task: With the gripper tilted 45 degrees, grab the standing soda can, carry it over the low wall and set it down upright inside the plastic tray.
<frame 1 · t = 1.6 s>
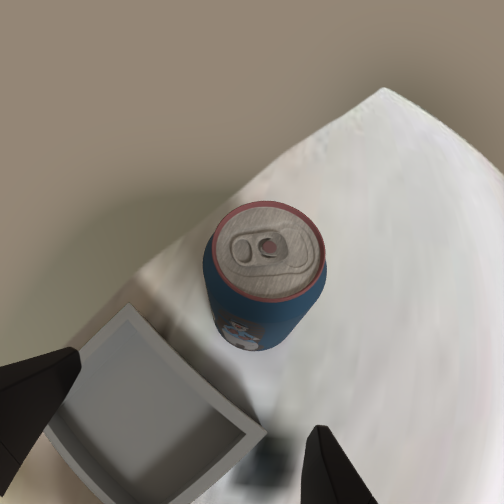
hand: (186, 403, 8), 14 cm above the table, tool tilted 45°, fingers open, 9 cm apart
soda can: (253, 315, 24), on the table
tray: (143, 425, 19), on the table
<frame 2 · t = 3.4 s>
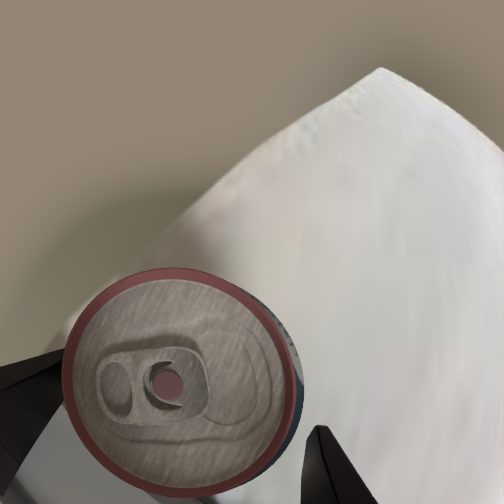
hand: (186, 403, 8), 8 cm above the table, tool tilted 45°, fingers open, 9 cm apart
soda can: (211, 387, 16), on the table
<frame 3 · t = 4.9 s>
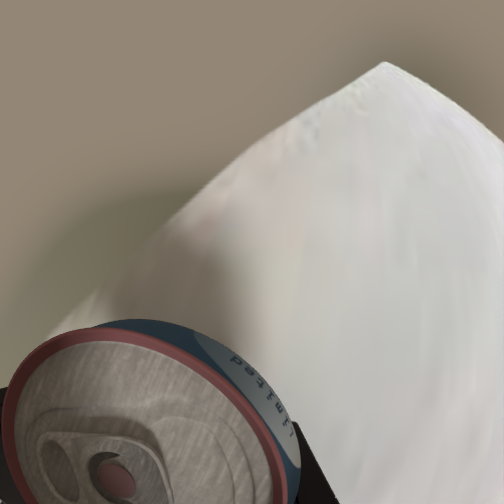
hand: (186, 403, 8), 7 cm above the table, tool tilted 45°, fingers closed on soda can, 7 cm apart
soda can: (199, 417, 14), on the table, touching gripper
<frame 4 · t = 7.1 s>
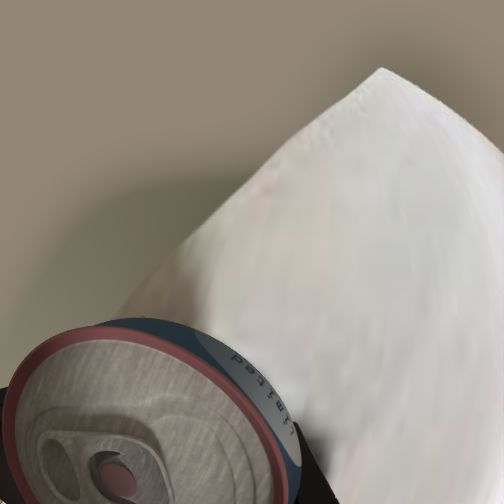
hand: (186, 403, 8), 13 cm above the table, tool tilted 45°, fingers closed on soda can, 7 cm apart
soda can: (200, 417, 14), point 6 cm above the table, touching gripper
when the fingers open (9 cm above the table, at t = 9.5 s): soda can drops 1 cm, resting on tray.
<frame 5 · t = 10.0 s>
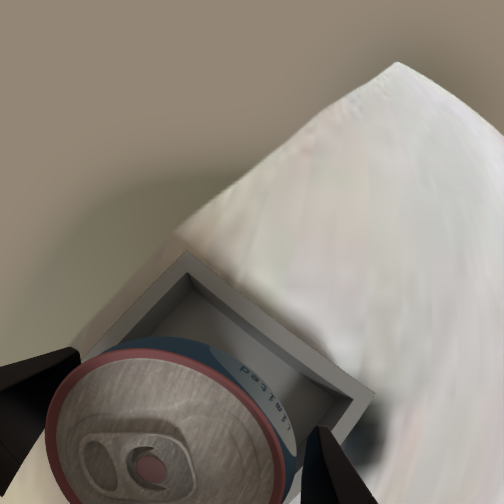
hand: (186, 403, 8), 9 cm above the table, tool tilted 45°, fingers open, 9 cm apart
soda can: (206, 417, 15), point 1 cm above the table, touching tray
tray: (204, 414, 16), on the table
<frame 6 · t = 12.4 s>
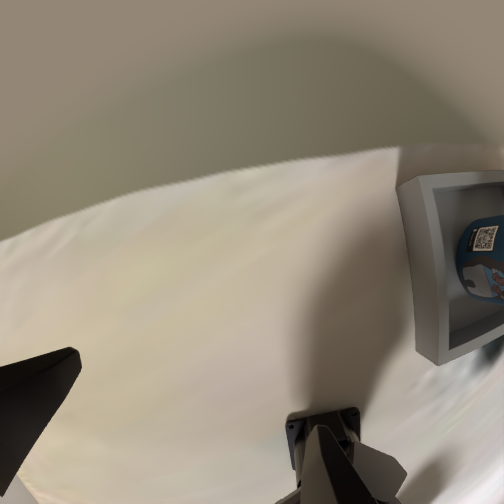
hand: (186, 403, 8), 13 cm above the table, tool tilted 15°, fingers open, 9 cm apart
soda can: (474, 259, 19), point 1 cm above the table, touching tray
tray: (468, 256, 20), on the table
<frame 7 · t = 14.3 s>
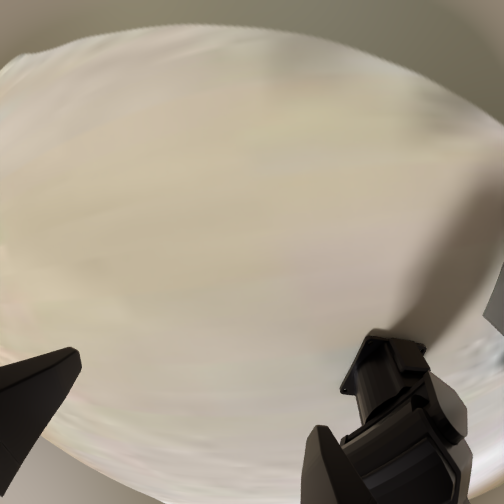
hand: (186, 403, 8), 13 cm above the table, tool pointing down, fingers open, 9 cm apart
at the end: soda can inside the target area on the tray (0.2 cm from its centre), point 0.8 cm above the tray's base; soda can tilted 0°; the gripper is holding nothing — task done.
